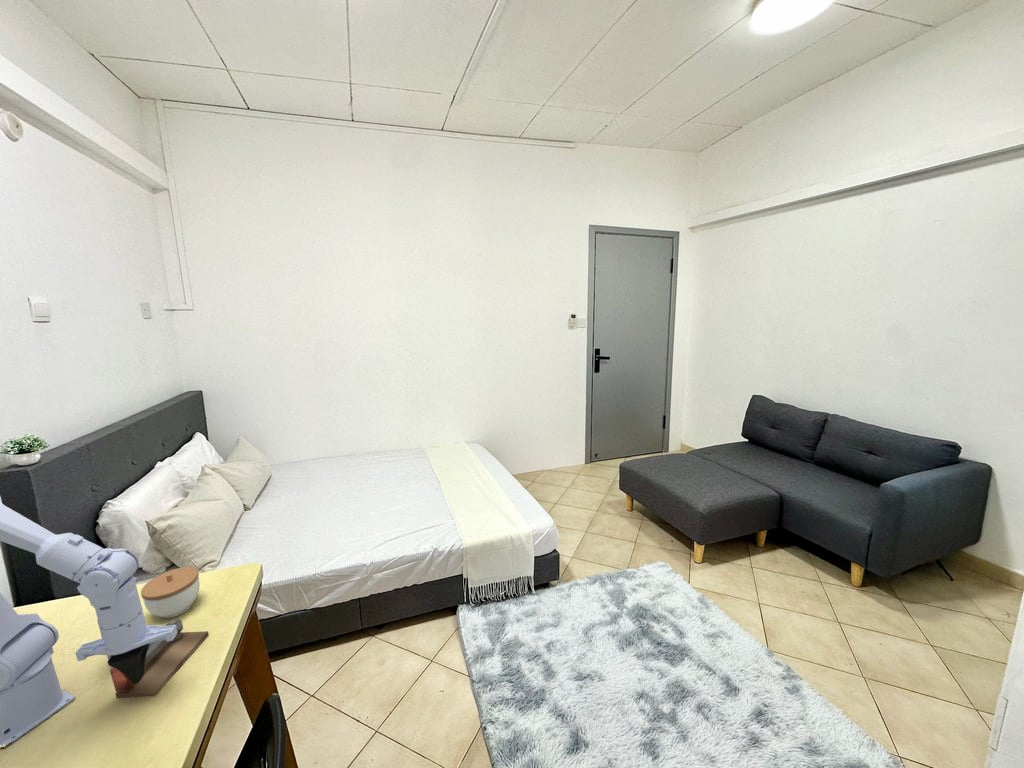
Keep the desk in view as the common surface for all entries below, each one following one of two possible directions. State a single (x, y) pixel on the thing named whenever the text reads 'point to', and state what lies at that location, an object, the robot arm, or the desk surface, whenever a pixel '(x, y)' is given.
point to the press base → (165, 664)
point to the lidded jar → (171, 592)
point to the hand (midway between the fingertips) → (138, 679)
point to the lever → (122, 680)
